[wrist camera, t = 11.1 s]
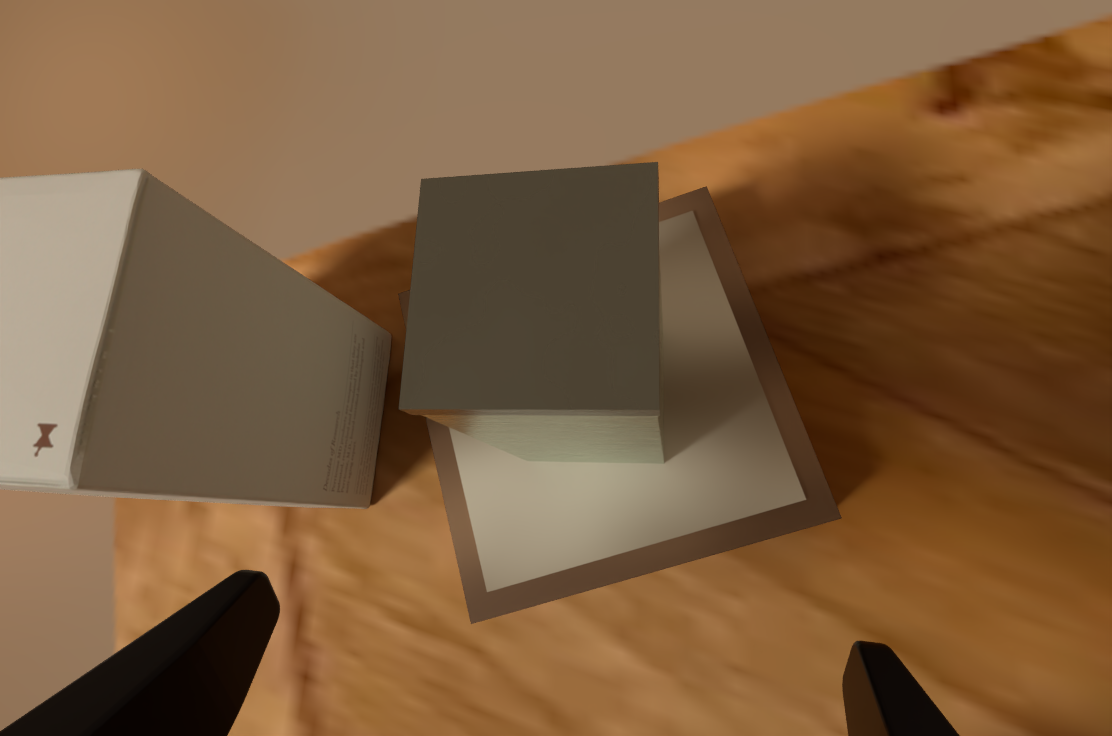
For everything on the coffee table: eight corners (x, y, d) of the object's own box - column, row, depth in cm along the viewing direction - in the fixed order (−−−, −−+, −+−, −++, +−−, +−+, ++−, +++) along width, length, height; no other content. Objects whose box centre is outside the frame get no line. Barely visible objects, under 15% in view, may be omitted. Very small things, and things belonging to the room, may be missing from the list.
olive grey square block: (665, 465, 20) (659, 409, 10) (526, 462, 20) (398, 409, 11) (664, 328, 21) (658, 162, 11) (532, 331, 22) (420, 178, 12)
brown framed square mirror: (822, 518, 21) (843, 517, 18) (492, 613, 22) (469, 624, 20) (703, 219, 24) (706, 184, 22) (423, 315, 25) (396, 292, 23)
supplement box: (398, 331, 26) (153, 159, 14) (372, 513, 24) (66, 501, 12) (242, 329, 27) (-105, 172, 15) (208, 500, 25) (-216, 478, 13)
